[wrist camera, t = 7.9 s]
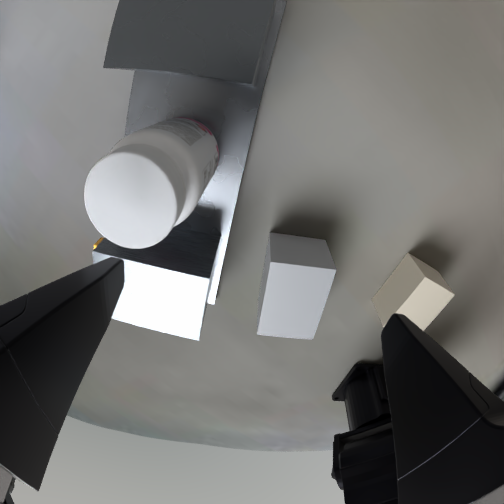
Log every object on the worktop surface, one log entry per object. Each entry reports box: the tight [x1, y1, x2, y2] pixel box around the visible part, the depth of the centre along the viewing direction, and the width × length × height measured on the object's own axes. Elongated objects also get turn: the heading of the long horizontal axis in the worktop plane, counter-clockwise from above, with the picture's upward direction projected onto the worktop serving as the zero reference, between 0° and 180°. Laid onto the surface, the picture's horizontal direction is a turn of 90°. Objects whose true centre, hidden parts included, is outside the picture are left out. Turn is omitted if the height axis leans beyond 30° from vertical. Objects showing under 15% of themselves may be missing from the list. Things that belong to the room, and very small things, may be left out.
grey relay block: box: [257, 233, 336, 340], centre depth 21 cm, size 6×4×4 cm, turn 173°
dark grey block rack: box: [93, 0, 287, 340], centre depth 16 cm, size 22×8×6 cm, turn 167°
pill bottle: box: [84, 117, 219, 249], centre depth 14 cm, size 5×5×8 cm
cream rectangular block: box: [372, 253, 455, 331], centre depth 21 cm, size 5×4×4 cm
